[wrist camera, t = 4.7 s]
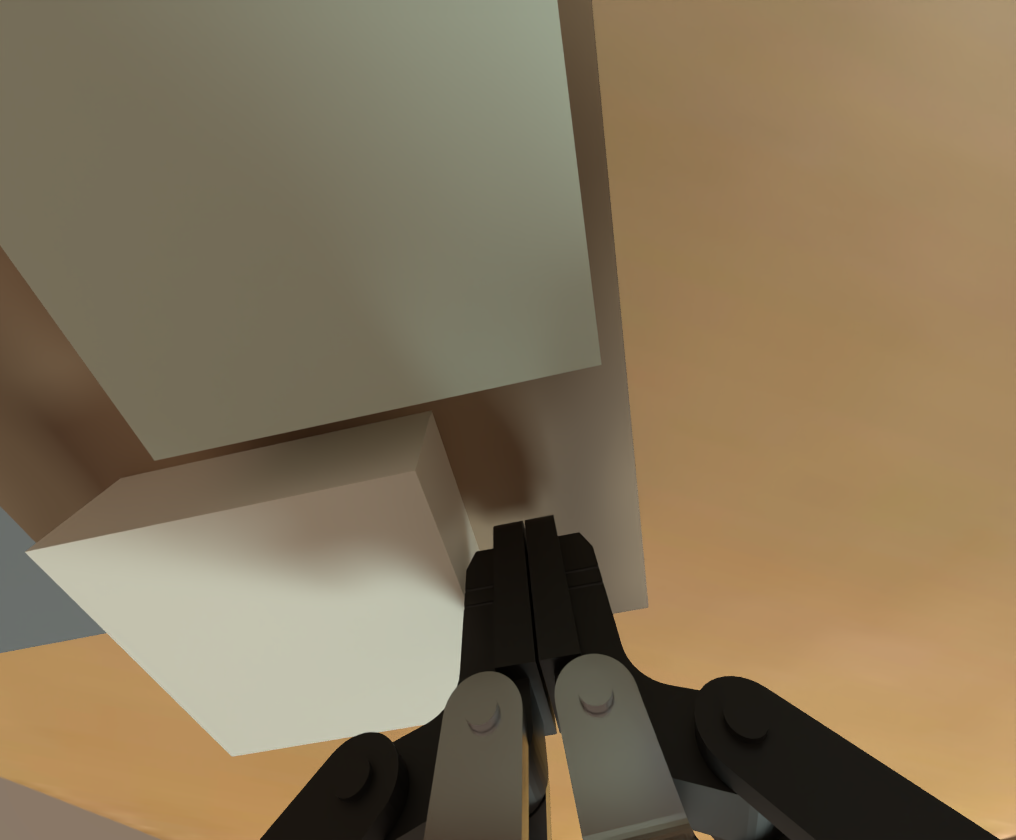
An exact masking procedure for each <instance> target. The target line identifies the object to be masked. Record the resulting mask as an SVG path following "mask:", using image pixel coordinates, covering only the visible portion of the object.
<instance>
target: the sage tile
mask: <svg viewBox="0 0 1016 840" xmlns="http://www.w3.org/2000/svg"><path fill="white" fill-rule="evenodd" d="M0 246H1V247H2V249H3V250H4V251H5V253H6V254H7V256H8V257H9V258H10V260H11V261H12V263H13V264H14V265H15V267H16V268H17V270H18V271H19V272H20V274H21V275H22V277H23V278H24V279H25V281H26V282H27V284H28V285H29V286H30V288H31V289H32V291H33V292H34V293H35V295H36V296H37V297H38V299H39V300H40V302H41V303H42V304H43V306H44V307H45V309H46V310H47V311H48V313H49V314H50V316H51V317H52V318H53V320H54V321H55V323H56V324H57V325H58V327H59V328H60V330H61V331H62V332H63V334H64V335H65V337H66V338H67V339H68V341H69V342H70V344H71V345H72V346H73V348H74V349H75V350H76V352H77V353H78V355H79V356H80V357H81V359H82V360H83V362H84V363H85V364H86V366H87V367H88V369H89V370H90V371H91V373H92V374H93V376H94V377H95V378H96V380H97V381H98V383H99V384H100V385H101V387H102V388H103V390H104V391H105V392H106V394H107V395H108V396H109V398H110V399H111V401H112V402H113V403H114V405H115V406H116V408H117V409H118V410H119V412H120V413H121V415H122V416H123V417H124V419H125V420H126V422H127V423H128V424H129V426H130V427H131V429H132V430H133V431H134V433H135V434H136V436H137V437H138V438H139V440H140V441H141V443H142V444H143V445H144V447H145V448H146V449H147V451H148V452H149V454H150V455H151V456H152V458H153V459H154V461H156V460H160V459H165V458H170V457H174V456H179V455H184V454H188V453H193V452H198V451H202V450H207V449H212V448H216V447H221V446H226V445H230V444H235V443H240V442H244V441H249V440H254V439H258V438H263V437H268V436H272V435H277V434H281V433H286V432H291V431H295V430H300V429H305V428H309V427H314V426H319V425H323V424H328V423H333V422H337V421H342V420H347V419H351V418H356V417H361V416H365V415H370V414H375V413H379V412H384V411H389V410H393V409H398V408H403V407H407V406H412V405H417V404H421V403H426V402H431V401H435V400H440V399H444V398H449V397H454V396H458V395H463V394H468V393H472V392H477V391H482V390H486V389H491V388H496V387H500V386H505V385H510V384H514V383H519V382H524V381H528V380H533V379H538V378H542V377H547V376H552V375H556V374H561V373H566V372H570V371H575V370H580V369H584V368H589V367H594V366H598V365H601V357H600V348H599V340H598V332H597V324H596V315H595V307H594V299H593V291H592V283H591V274H590V266H589V258H588V250H587V241H586V233H585V225H584V217H583V209H582V200H581V192H580V184H579V176H578V167H577V159H576V151H575V143H574V135H573V126H572V118H571V110H570V102H569V93H568V85H567V77H566V69H565V61H564V52H563V44H562V36H561V28H560V19H559V11H558V3H557V0H0Z"/></svg>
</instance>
